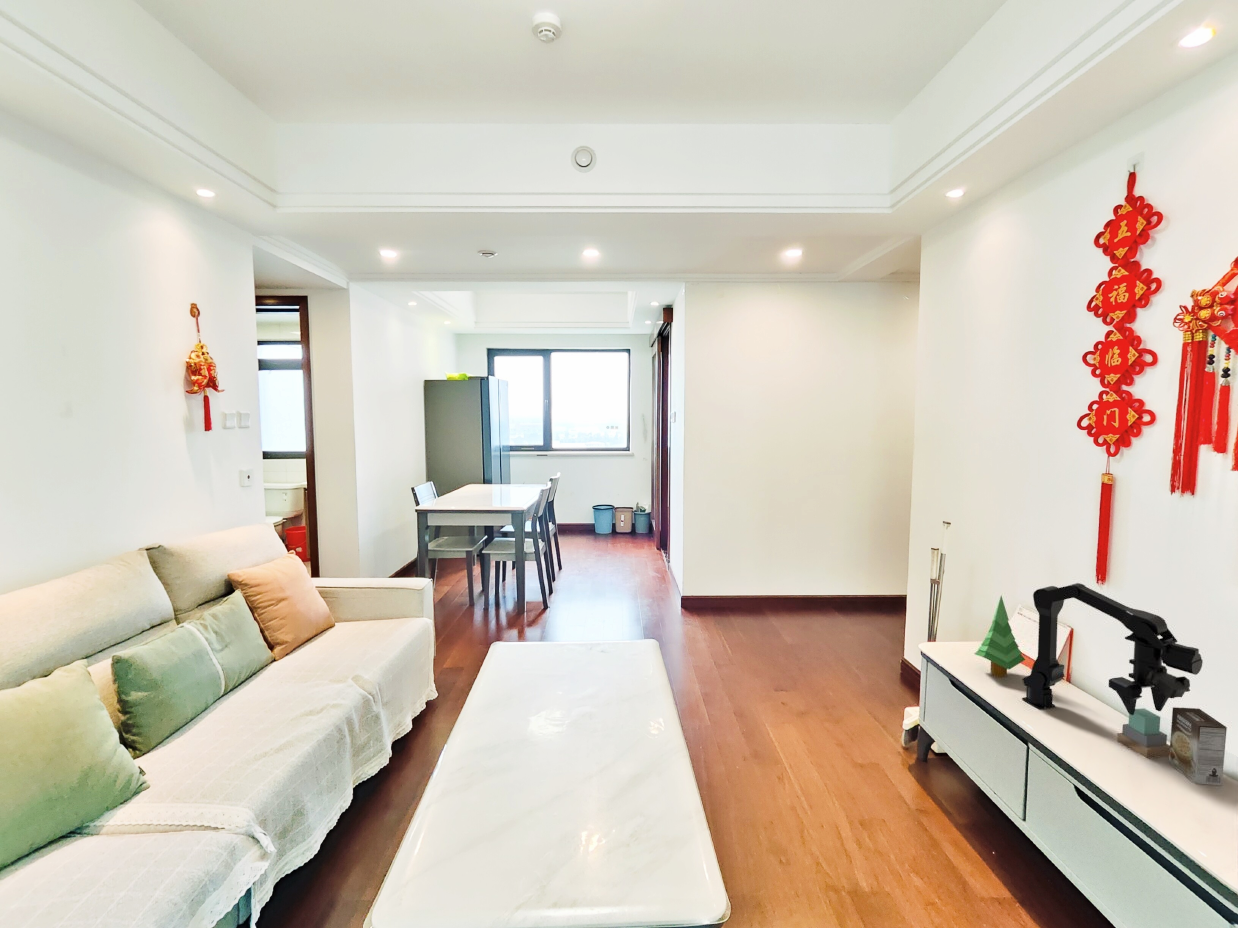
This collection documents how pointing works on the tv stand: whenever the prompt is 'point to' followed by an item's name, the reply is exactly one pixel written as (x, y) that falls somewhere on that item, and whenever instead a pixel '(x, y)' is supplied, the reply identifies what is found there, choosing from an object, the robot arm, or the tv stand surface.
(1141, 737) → the charcoal middle block
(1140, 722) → the teal block
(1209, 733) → the coffee box
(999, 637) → the decorative tree
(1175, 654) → the robot arm
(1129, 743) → the walnut base block
